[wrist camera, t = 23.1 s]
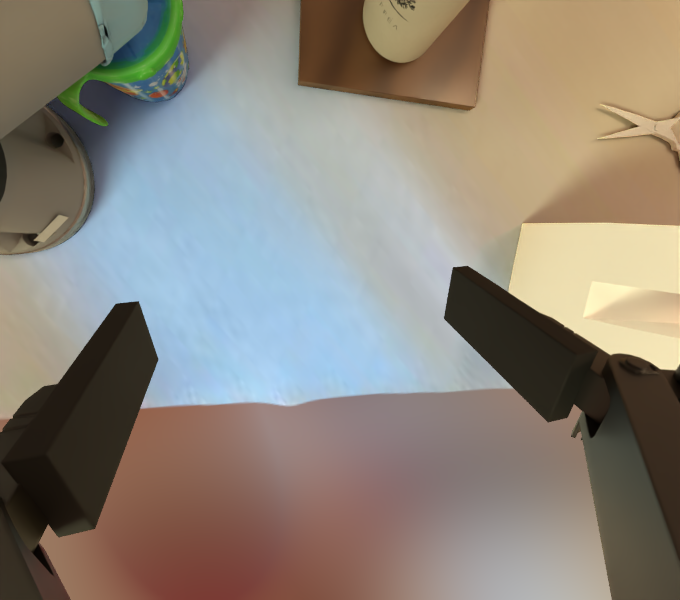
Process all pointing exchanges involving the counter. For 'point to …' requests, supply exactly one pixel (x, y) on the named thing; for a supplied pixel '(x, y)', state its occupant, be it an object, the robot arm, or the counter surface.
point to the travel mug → (407, 25)
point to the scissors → (647, 128)
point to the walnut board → (385, 75)
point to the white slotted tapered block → (605, 284)
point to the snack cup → (143, 62)
